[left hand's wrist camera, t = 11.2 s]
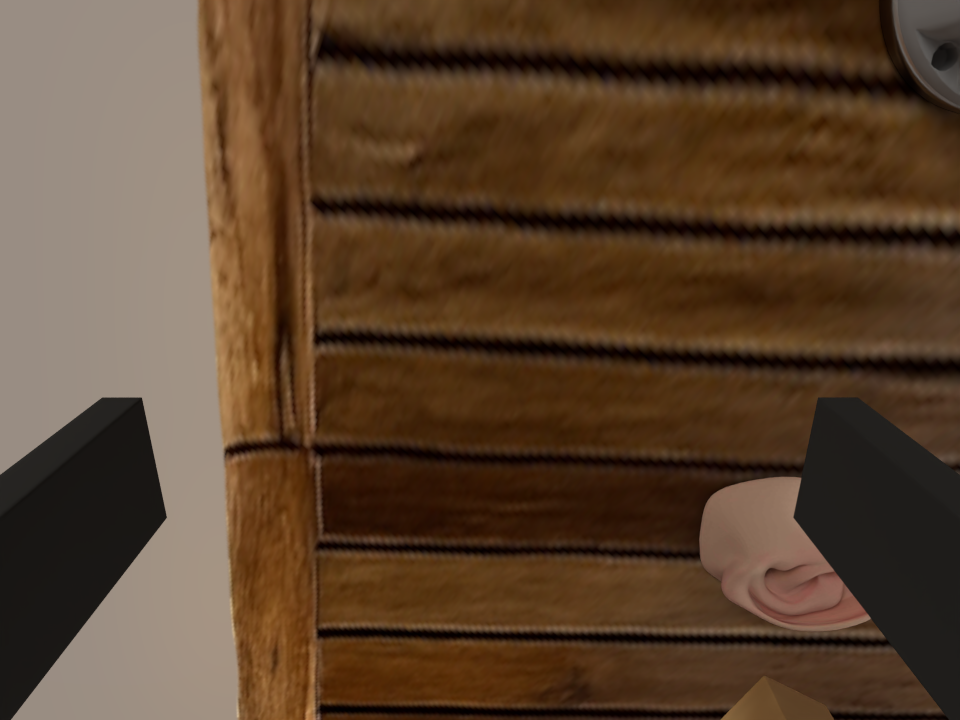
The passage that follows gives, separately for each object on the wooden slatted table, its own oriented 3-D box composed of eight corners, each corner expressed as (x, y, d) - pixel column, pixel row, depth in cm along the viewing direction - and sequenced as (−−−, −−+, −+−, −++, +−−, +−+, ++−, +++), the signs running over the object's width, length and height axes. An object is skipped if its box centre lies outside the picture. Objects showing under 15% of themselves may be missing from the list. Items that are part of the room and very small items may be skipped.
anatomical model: (691, 540, 44) (857, 473, 42) (675, 506, 48) (827, 444, 46) (753, 671, 48) (906, 616, 46) (733, 631, 52) (874, 578, 50)
